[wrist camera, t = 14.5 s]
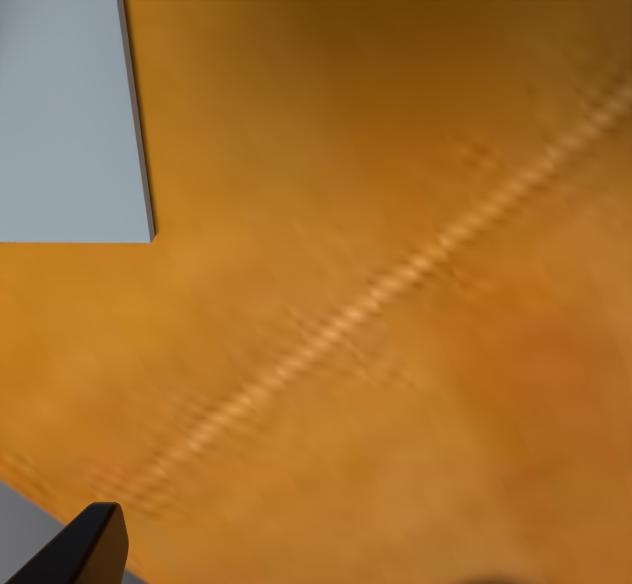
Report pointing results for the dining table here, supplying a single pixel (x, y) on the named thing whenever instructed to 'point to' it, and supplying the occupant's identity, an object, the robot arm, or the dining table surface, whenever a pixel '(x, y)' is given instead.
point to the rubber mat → (70, 125)
